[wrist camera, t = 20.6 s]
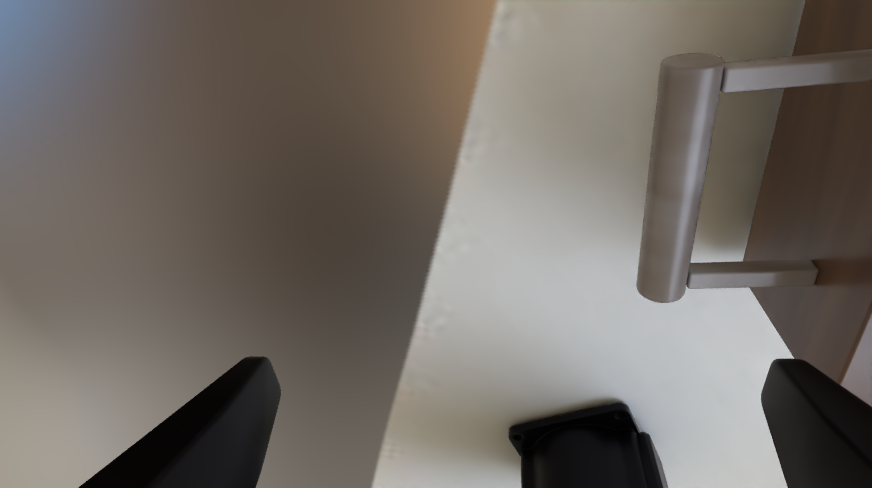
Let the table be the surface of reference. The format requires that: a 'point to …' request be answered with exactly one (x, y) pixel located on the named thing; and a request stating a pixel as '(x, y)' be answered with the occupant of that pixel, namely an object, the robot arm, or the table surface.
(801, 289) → the drawer
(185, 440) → the robot arm
